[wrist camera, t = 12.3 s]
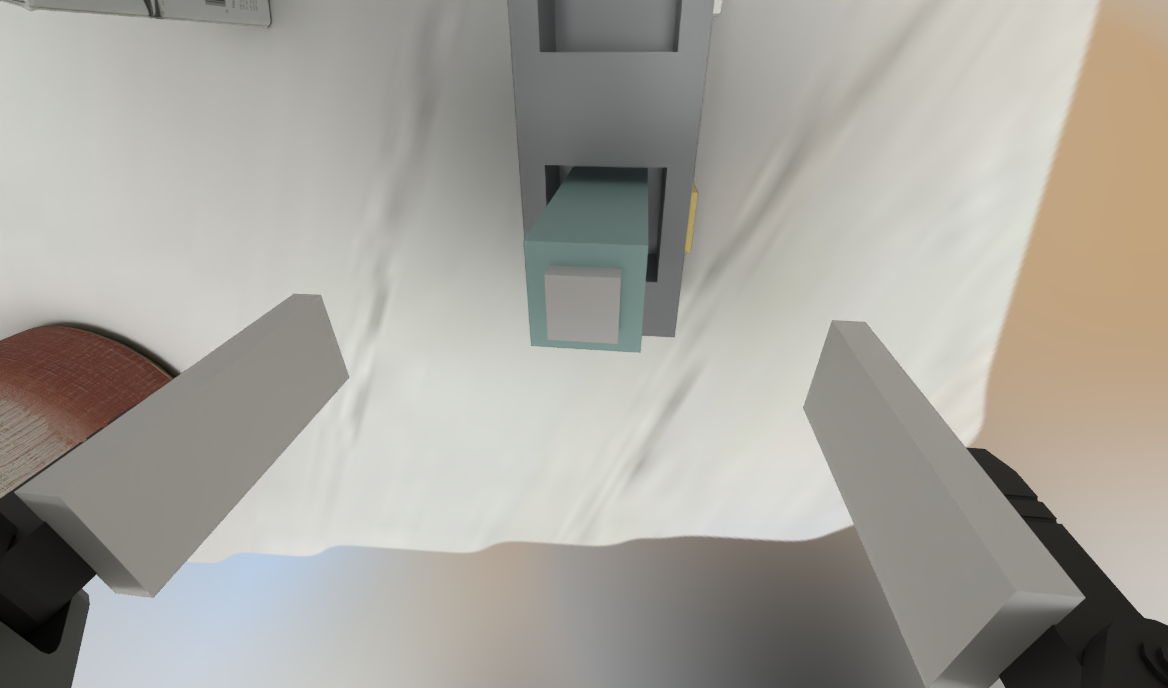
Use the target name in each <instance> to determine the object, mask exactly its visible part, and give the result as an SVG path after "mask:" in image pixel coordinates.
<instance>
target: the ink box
mask: <svg viewBox="0 0 1168 688" xmlns="http://www.w3.org/2000/svg"><path fill="white" fill-rule="evenodd" d="M0 1H2V2H6V3H10V4H14V5H18V6H21V7H23V8H25V9H27V10H29V11H33V10H51V11H65V12H76V13H91V14H105V15H119V16H131V17H146V18H157V19H169V20H182V21H195V22H208V23H220V24H232V25H244V26H259V27H263V28H267V27H268V26H269V25H270V23H271V19H270V11H269V3H268V0H0Z"/></svg>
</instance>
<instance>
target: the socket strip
mask: <svg viewBox="0 0 1168 688" xmlns="http://www.w3.org/2000/svg"><path fill="white" fill-rule="evenodd" d="M721 5H722V0H508V15H509V29H510V43H511V57H512V71H513V85H514V99H515V113H516V127H517V141H518V155H519V169H520V183H521V197H522V212H523V226H524V239H525V238H526V236H527V235H528V233H529V232H530V230H531V229H532V227H533V226H534V225H535V223H536V222H537V220H538V219H539V217H540V216H541V214H542V213H543V211H544V210H545V208H546V207H547V205H548V204H549V202H550V201H551V199H552V198H553V196H554V195H555V193H556V192H557V190H558V189H559V187H560V186H561V184H562V183H563V181H564V180H565V178H566V177H567V175H568V174H569V172H570V171H571V169H572V168H573V167H613V168H648V257H647V270H646V284H645V297H644V310H643V324H642V335H644V336H661V337H675V329H676V321H677V312H678V304H679V295H680V287H681V279H682V270H683V262H684V253H685V252H691V244H692V236H693V228H694V220H695V212H696V204H697V196H698V192H697V189H696V186H695V184H694V181H693V177H694V169H695V161H696V152H697V144H698V135H699V127H700V118H701V110H702V102H703V93H704V85H705V76H706V68H707V59H708V51H709V43H710V34H711V26H712V18H714V17H715V16H717V15H719V14H720V13H721Z"/></svg>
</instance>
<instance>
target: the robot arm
mask: <svg viewBox="0 0 1168 688" xmlns="http://www.w3.org/2000/svg"><path fill="white" fill-rule="evenodd" d="M348 378H349V375H348V372H347V369H346V366H345V363H344V360H343V358H342V355H341V352H340V349H339V346H338V343H337V340H336V337H335V334H334V332H333V329H332V326H331V323H330V320H329V317H328V314H327V311H326V309H325V306H324V303H323V300H322V297H321V295H310V294H293V295H292V296H290V297H289V298H287V299H286V300H285V301H283V302H282V303H280V304H279V305H277V306H276V307H275V308H273V309H272V310H270V311H269V312H268V313H266V314H265V315H263V316H262V317H261V318H259V319H258V320H256V321H255V322H253V323H252V324H251V325H249V326H248V327H246V328H245V329H244V330H242V331H241V332H239V333H238V334H237V335H235V336H234V337H232V338H231V339H229V340H228V341H227V342H225V343H224V344H222V345H221V346H220V347H218V348H217V349H215V350H214V351H213V352H211V353H210V354H208V355H207V356H205V357H204V358H203V359H201V360H200V361H198V362H197V363H196V364H194V365H193V366H191V367H190V368H189V369H187V370H186V371H184V372H183V373H181V374H180V375H179V376H177V377H176V378H174V379H173V380H172V381H170V382H169V383H167V384H166V385H165V386H163V387H162V388H160V389H159V390H157V391H156V392H155V393H153V394H152V395H150V396H149V397H148V398H146V399H145V400H143V401H141V402H139V403H137V404H135V405H133V406H131V407H130V408H128V409H127V410H125V411H124V412H123V413H121V414H120V415H118V416H117V417H115V418H114V419H113V420H111V421H110V422H108V423H107V424H108V425H107V427H101V428H100V429H98V430H97V431H96V432H94V433H93V434H91V435H90V436H88V437H87V438H86V441H85V442H80V443H78V444H77V445H76V446H74V447H73V448H71V449H70V450H69V451H67V452H66V453H64V454H63V455H61V456H60V457H59V458H57V459H56V460H54V461H53V462H51V463H50V464H49V465H47V466H46V467H44V468H43V469H41V470H40V471H39V472H37V473H36V474H34V475H33V476H32V477H30V478H29V479H27V480H26V481H24V482H23V483H22V484H20V485H19V486H17V487H16V488H14V489H13V490H12V491H10V492H9V493H7V494H6V495H5V496H3V497H2V498H0V688H71V686H72V681H73V677H74V673H75V668H76V664H77V659H78V654H79V650H80V646H81V641H82V636H83V632H84V627H85V623H86V618H87V614H88V610H89V605H90V603H89V595H88V594H87V593H86V592H85V591H84V590H83V589H82V588H83V587H84V586H85V585H86V584H87V583H88V582H89V581H90V580H91V579H92V578H93V577H94V576H95V575H96V574H97V575H98V576H99V577H100V578H101V579H102V580H103V581H104V582H105V583H106V584H107V585H108V586H109V587H110V588H111V589H112V590H113V591H114V592H115V593H118V594H127V595H135V596H143V597H151V598H154V597H155V595H156V594H157V593H158V592H159V591H160V590H161V589H162V588H163V587H164V585H165V584H166V583H167V582H168V581H169V580H170V579H171V578H172V576H173V575H174V574H175V573H176V572H177V571H178V570H179V569H180V567H181V566H182V565H183V564H184V563H185V562H186V561H187V560H188V558H189V557H190V556H191V555H192V554H193V553H194V552H195V551H196V549H197V548H198V547H199V546H200V545H201V544H202V543H203V542H204V540H205V539H206V538H207V537H208V536H209V535H210V534H211V533H212V531H213V530H214V529H215V528H216V527H217V526H218V525H219V524H220V522H221V521H222V520H223V519H224V518H225V517H226V516H227V515H228V513H229V512H230V511H231V510H232V509H233V508H234V507H235V506H236V504H237V503H238V502H239V501H240V500H241V499H242V498H243V497H244V495H245V494H246V493H247V492H248V491H249V490H250V489H251V488H252V486H253V485H254V484H255V483H256V482H257V481H258V480H259V479H260V477H261V476H262V475H263V474H264V473H265V472H266V471H267V470H268V468H269V467H270V466H271V465H272V464H273V463H274V462H275V461H276V459H277V458H278V457H279V456H280V455H281V454H282V453H283V452H284V450H285V449H286V448H287V447H288V446H289V445H290V444H291V443H292V441H293V440H294V439H295V438H296V437H297V436H298V435H299V434H300V432H301V431H302V430H303V429H304V428H305V427H306V426H307V425H308V423H309V422H310V421H311V420H312V419H313V418H314V417H315V416H316V414H317V413H318V412H319V411H320V410H321V409H322V408H323V407H324V405H325V404H326V403H327V402H328V401H329V400H330V399H331V398H332V396H333V395H334V394H335V393H336V392H337V391H338V390H339V389H340V387H341V386H342V385H343V384H344V383H345V382H346V381H347V380H348ZM803 408H804V411H805V413H806V415H807V418H808V420H809V422H810V424H811V427H812V429H813V431H814V434H815V436H816V438H817V440H818V443H819V445H820V447H821V450H822V452H823V454H824V456H825V459H826V461H827V463H828V466H829V468H830V470H831V472H832V475H833V477H834V479H835V482H836V484H837V486H838V488H839V491H840V493H841V495H842V498H843V500H844V502H845V504H846V507H847V509H848V511H849V514H850V516H851V518H852V520H853V523H854V525H855V527H856V530H857V532H858V534H859V536H860V539H861V541H862V543H863V546H864V548H865V550H866V552H867V554H868V557H869V559H870V562H871V564H872V566H873V568H874V571H875V573H876V575H877V578H878V580H879V582H880V584H881V587H882V589H883V591H884V594H885V596H886V598H887V600H888V603H889V605H890V607H891V610H892V612H893V614H894V616H895V619H896V621H897V623H898V626H899V628H900V630H901V632H902V635H903V637H904V639H905V641H906V643H907V646H908V648H909V650H910V653H911V655H912V657H913V660H914V662H915V664H916V667H917V669H918V671H919V673H920V676H921V678H922V680H923V683H924V685H925V687H926V688H989V687H990V686H991V685H992V684H993V683H995V682H996V681H997V680H998V679H999V678H1000V679H1001V681H1002V682H1003V684H1004V686H1005V688H1168V625H1165V624H1163V623H1161V622H1158V621H1156V620H1152V619H1146V618H1144V617H1143V616H1142V615H1141V614H1140V613H1139V612H1138V611H1137V610H1136V609H1135V608H1134V607H1133V605H1132V604H1131V603H1130V602H1129V601H1128V600H1127V599H1126V597H1125V596H1124V595H1123V594H1122V593H1121V592H1120V591H1119V589H1118V588H1117V587H1116V586H1115V585H1114V584H1113V583H1112V582H1111V580H1110V579H1109V578H1108V577H1107V576H1106V574H1105V573H1104V572H1103V571H1102V570H1101V569H1100V568H1099V567H1098V565H1097V564H1096V563H1095V562H1094V561H1093V560H1092V558H1091V557H1090V556H1089V555H1088V554H1087V553H1086V552H1085V551H1084V549H1083V548H1082V547H1081V546H1080V545H1079V544H1078V542H1077V541H1076V540H1075V539H1074V538H1073V537H1072V535H1071V534H1070V533H1069V532H1068V531H1067V530H1066V529H1065V527H1064V526H1063V525H1062V524H1058V523H1057V522H1056V519H1057V518H1056V517H1055V516H1054V515H1053V514H1052V513H1051V511H1050V510H1049V509H1048V508H1047V507H1046V506H1045V504H1044V503H1043V502H1039V501H1038V500H1037V497H1038V496H1037V495H1036V494H1035V493H1034V492H1033V491H1032V490H1031V488H1029V486H1028V485H1027V484H1026V483H1025V482H1024V481H1023V479H1022V478H1021V477H1020V476H1019V475H1018V474H1017V472H1016V471H1014V470H1013V469H1012V468H1010V467H1009V466H1008V465H1006V464H1005V463H1003V462H1002V461H1001V460H999V459H998V458H997V457H995V456H994V455H992V454H991V453H990V452H988V451H987V450H986V449H977V448H966V447H965V446H964V445H963V444H962V442H961V441H960V440H959V439H958V437H957V436H956V435H955V434H954V432H953V431H952V430H951V429H950V427H949V426H948V425H947V424H946V422H945V421H944V420H943V419H942V417H941V416H940V415H939V414H938V412H937V411H936V410H935V408H934V407H933V406H932V405H931V403H930V402H929V401H928V400H927V398H926V397H925V396H924V395H923V393H922V392H921V391H920V390H919V388H918V387H917V386H916V385H915V383H914V382H913V381H912V380H911V378H910V377H909V376H908V375H907V373H906V372H905V371H904V370H903V368H902V367H901V366H900V365H899V363H898V362H897V361H896V360H895V358H894V357H893V356H892V355H891V353H890V352H889V351H888V350H887V348H886V347H885V346H884V345H883V343H882V342H881V341H880V340H879V338H878V337H877V336H876V335H875V333H874V332H873V331H872V330H871V328H870V327H869V326H868V325H867V323H866V322H855V321H835V320H832V322H831V325H830V328H829V331H828V334H827V337H826V340H825V343H824V346H823V349H822V352H821V355H820V359H819V362H818V365H817V368H816V371H815V374H814V377H813V380H812V383H811V386H810V389H809V392H808V395H807V398H806V401H805V404H804V407H803Z"/></svg>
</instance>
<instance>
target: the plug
mask: <svg viewBox="0 0 1168 688" xmlns="http://www.w3.org/2000/svg"><path fill="white" fill-rule="evenodd" d="M524 254H525V268H526V282H527V295H528V309H529V323H530V337H531V346H541V347H558V348H574V349H590V350H607V351H623V352H640V350H641V337H642V324H643V310H644V297H645V284H646V270H647V257H648V168H613V167H573V168H572V169H571V171H570V172H569V174H568V175H567V177H566V178H565V180H564V181H563V183H562V184H561V186H560V187H559V189H558V190H557V192H556V193H555V195H554V196H553V198H552V199H551V201H550V202H549V204H548V205H547V207H546V208H545V210H544V211H543V213H542V214H541V216H540V217H539V219H538V220H537V222H536V223H535V225H534V226H533V227H532V229H531V230H530V232H529V233H528V235H527V236H526V238H525V239H524Z"/></svg>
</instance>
